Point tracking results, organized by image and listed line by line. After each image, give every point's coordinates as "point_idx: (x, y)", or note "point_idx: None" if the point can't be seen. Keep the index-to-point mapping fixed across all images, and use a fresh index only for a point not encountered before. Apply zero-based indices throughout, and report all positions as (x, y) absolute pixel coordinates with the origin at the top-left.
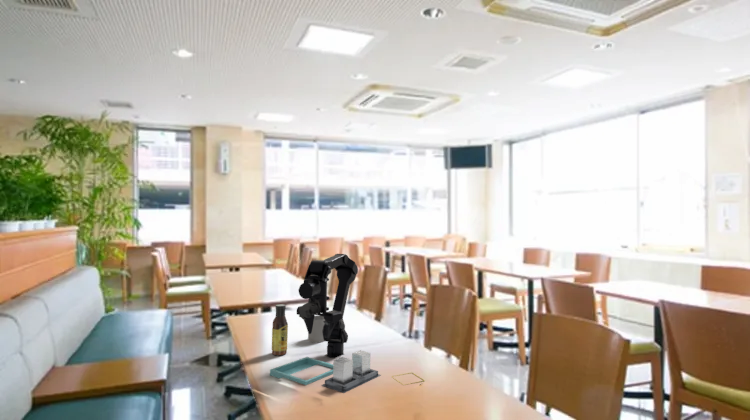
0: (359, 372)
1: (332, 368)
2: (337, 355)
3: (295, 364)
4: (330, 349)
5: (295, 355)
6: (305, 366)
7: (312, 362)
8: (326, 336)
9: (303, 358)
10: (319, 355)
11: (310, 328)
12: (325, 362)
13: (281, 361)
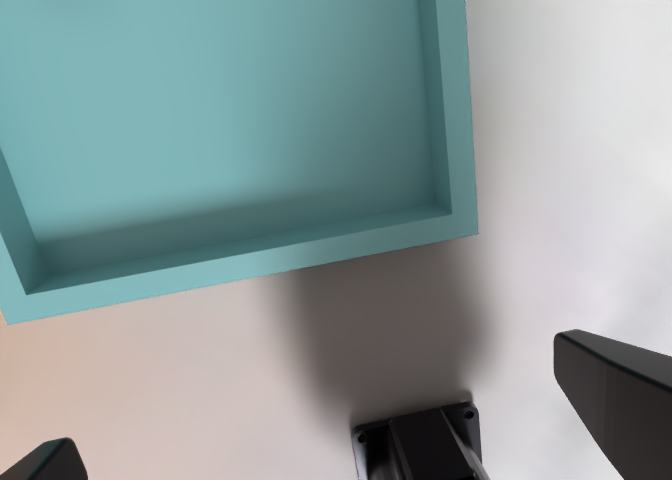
0: None
1: (113, 269)
2: (375, 467)
3: (430, 54)
4: (421, 463)
5: (663, 249)
6: (371, 140)
7: (371, 221)
8: (30, 462)
9: (465, 180)
10: (521, 387)
11: (632, 432)
12: (227, 278)
13: (652, 72)
